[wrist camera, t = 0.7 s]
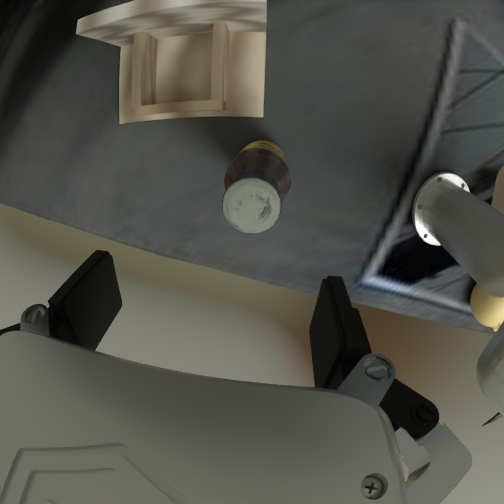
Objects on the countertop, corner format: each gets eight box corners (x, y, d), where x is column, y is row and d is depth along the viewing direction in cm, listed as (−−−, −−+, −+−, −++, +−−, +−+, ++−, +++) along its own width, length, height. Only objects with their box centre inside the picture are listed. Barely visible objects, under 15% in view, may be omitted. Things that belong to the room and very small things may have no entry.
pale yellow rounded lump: (486, 307, 47) (507, 336, 38) (457, 307, 47) (479, 340, 37) (507, 267, 41) (532, 294, 32) (479, 263, 41) (507, 293, 32)
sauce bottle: (294, 167, 36) (321, 225, 19) (256, 192, 38) (248, 269, 21) (266, 128, 34) (267, 145, 16) (228, 154, 36) (190, 200, 18)
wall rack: (266, 21, 26) (266, -14, 16) (263, 117, 33) (261, 119, 22) (125, 36, 27) (78, 19, 16) (122, 123, 33) (73, 133, 23)
